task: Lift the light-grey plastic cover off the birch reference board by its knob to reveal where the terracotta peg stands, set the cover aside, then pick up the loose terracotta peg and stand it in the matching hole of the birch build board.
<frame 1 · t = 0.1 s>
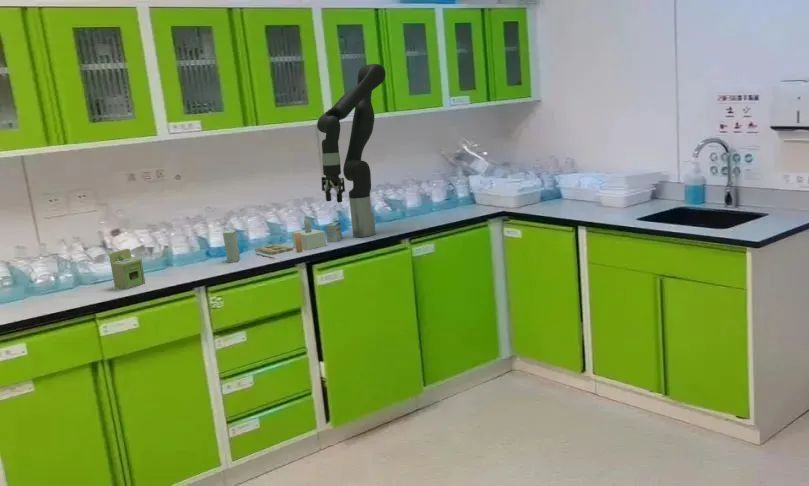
hand: (334, 201, 324), 17 cm above the table, tool pointing down, fingers open, 8 cm apart
skincare box: (233, 261, 307), on the table
medicine box: (335, 244, 323), on the table
peg: (300, 255, 306), on the table
build board: (274, 254, 312), on the table
reference board: (310, 249, 315), on the table
cover: (310, 246, 314), point 1 cm above the table, touching reference board
toy sink: (130, 286, 279), on the table
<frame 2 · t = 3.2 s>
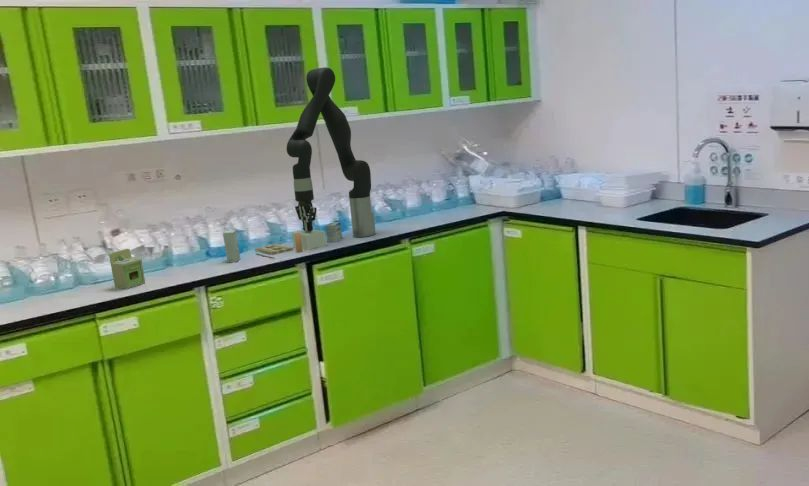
hand: (308, 230, 313), 8 cm above the table, tool pointing down, fingers closed on cover, 2 cm apart
cover: (310, 246, 314), point 2 cm above the table, touching gripper, reference board
everything else where it was.
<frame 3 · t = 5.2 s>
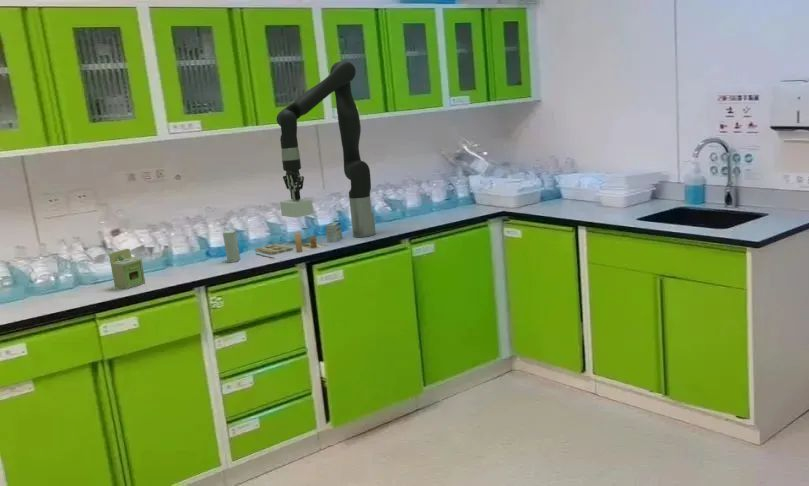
hand: (295, 199, 322), 20 cm above the table, tool pointing down, fingers closed on cover, 2 cm apart
cover: (297, 214, 323), point 13 cm above the table, touching gripper
everything else where it was.
when the fingers open (8 cm above the table, at t = 7.5 s): cover stays where it is, on the table.
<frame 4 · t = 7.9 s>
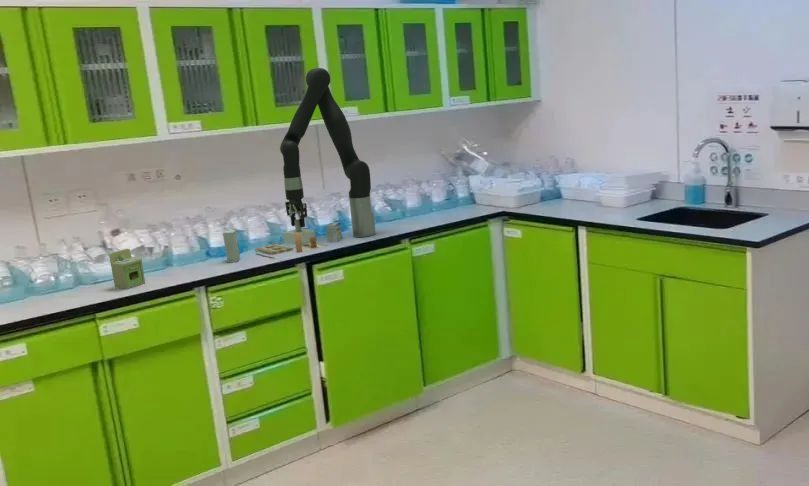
hand: (298, 226, 325), 8 cm above the table, tool pointing down, fingers open, 6 cm apart
cover: (300, 245, 326), on the table
everything else where it was.
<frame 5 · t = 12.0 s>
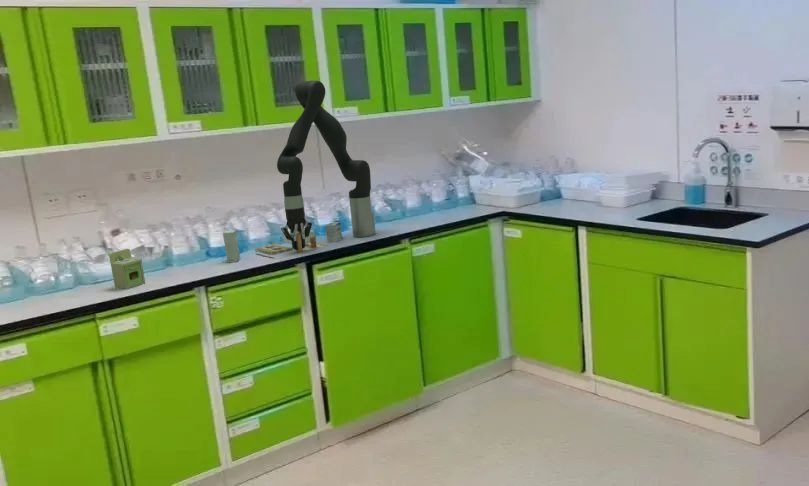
hand: (299, 248, 305), 3 cm above the table, tool pointing down, fingers closed on peg, 2 cm apart
peg: (300, 255, 306), on the table, touching gripper
everything else where it was.
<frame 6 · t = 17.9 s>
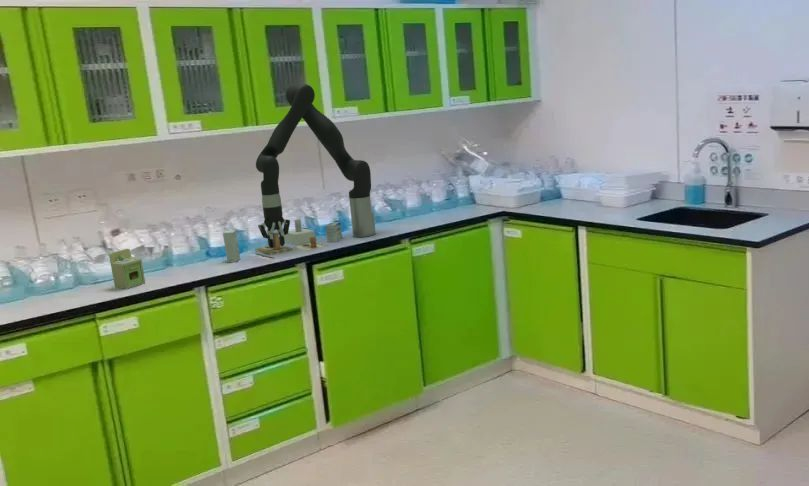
hand: (277, 246, 309), 4 cm above the table, tool pointing down, fingers open, 4 cm apart
peg: (278, 254, 310), resting in build board
everything else where it was.
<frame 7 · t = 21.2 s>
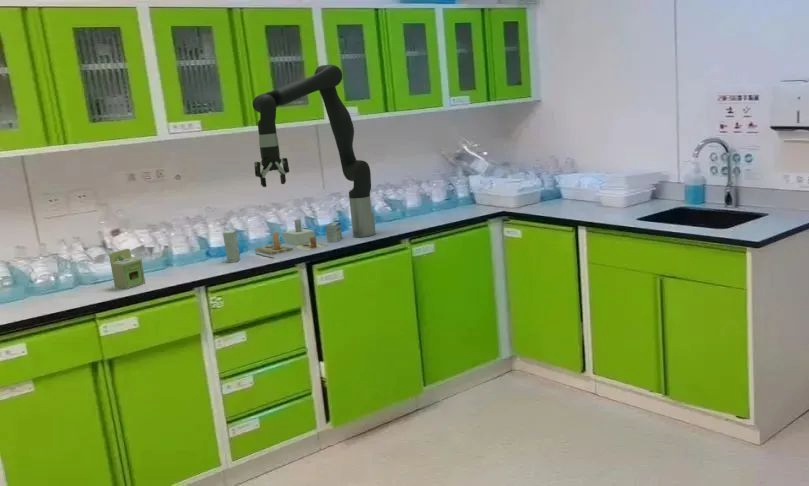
hand: (273, 185, 308), 28 cm above the table, tool pointing down, fingers open, 8 cm apart
nothing on the table moved.
at the end: peg 0.0 cm from the target spot on the build board, point 0.0 cm above the build board's base; peg tilted 0°; cover moved 13.4 cm from its start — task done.
